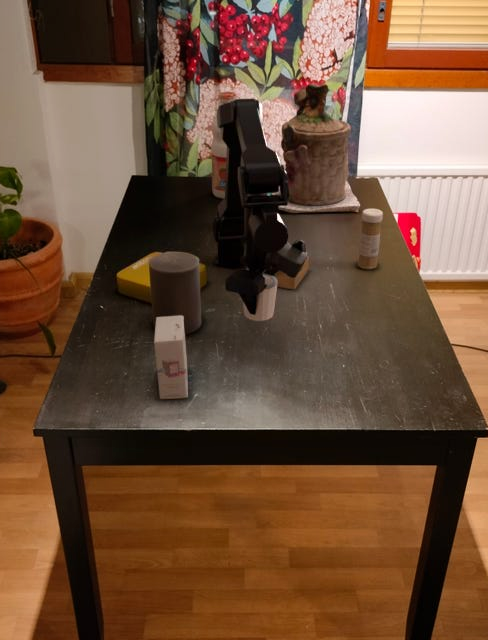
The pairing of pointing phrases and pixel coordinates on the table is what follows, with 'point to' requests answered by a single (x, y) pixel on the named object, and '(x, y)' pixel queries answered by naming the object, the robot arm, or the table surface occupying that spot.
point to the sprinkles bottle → (370, 238)
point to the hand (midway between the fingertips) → (258, 306)
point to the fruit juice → (219, 151)
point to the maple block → (290, 282)
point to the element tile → (144, 279)
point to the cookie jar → (316, 157)
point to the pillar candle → (176, 288)
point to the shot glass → (264, 301)
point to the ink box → (171, 357)
